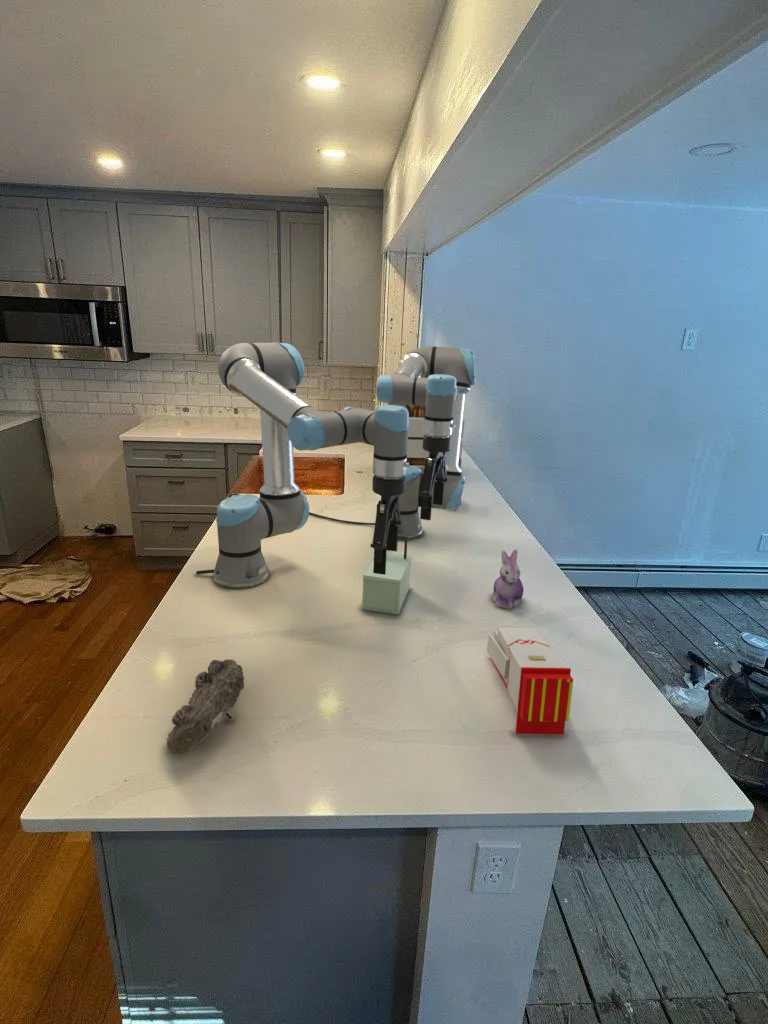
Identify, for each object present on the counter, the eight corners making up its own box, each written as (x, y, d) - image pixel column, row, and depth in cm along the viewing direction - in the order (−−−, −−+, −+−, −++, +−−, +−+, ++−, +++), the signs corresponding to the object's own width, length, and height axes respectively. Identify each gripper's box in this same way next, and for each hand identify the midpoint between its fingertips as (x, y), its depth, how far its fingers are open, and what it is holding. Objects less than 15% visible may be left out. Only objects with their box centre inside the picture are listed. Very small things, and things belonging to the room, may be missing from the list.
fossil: (192, 660, 117) (244, 628, 112) (224, 691, 120) (276, 661, 115) (142, 746, 98) (202, 712, 93) (182, 779, 101) (242, 748, 96)
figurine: (505, 613, 150) (512, 561, 145) (482, 596, 158) (488, 546, 153) (533, 606, 154) (540, 555, 149) (509, 589, 163) (515, 541, 158)
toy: (534, 612, 132) (582, 675, 102) (529, 665, 135) (574, 741, 105) (482, 611, 131) (516, 674, 102) (478, 664, 134) (510, 740, 105)
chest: (375, 583, 163) (377, 555, 160) (409, 588, 161) (410, 560, 158) (362, 609, 149) (363, 578, 146) (398, 614, 147) (400, 584, 144)
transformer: (382, 463, 289) (386, 382, 275) (445, 464, 293) (451, 384, 279) (390, 482, 257) (394, 392, 243) (460, 483, 261) (468, 394, 247)
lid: (377, 554, 161) (378, 528, 158) (411, 559, 159) (413, 532, 156) (363, 578, 146) (364, 550, 143) (400, 584, 144) (401, 555, 141)
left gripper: (395, 493, 115) (390, 586, 123) (414, 463, 139) (409, 543, 146) (359, 489, 117) (357, 582, 124) (384, 460, 140) (381, 540, 147)
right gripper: (440, 446, 137) (433, 528, 144) (461, 428, 159) (454, 500, 166) (410, 443, 139) (405, 524, 146) (435, 425, 161) (429, 496, 168)
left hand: (385, 561), depth 135 cm, fingers open, 13 cm apart
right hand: (431, 511), depth 156 cm, fingers open, 13 cm apart
